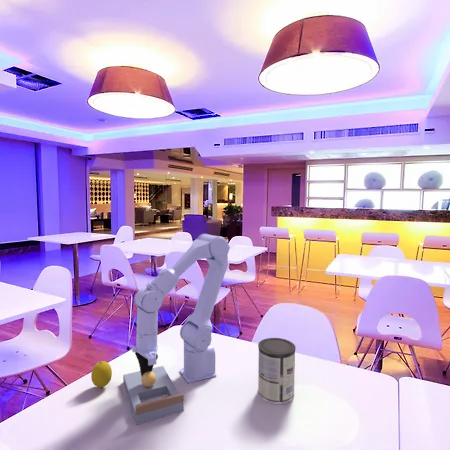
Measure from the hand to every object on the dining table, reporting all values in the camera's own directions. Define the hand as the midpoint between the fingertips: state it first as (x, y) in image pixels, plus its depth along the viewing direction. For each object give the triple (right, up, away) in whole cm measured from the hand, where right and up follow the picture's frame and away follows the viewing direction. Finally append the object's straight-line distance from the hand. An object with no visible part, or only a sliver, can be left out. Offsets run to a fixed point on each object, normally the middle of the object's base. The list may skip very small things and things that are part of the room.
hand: (145, 377), depth 91 cm
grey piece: (+2, -4, -2) cm, 5 cm away
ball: (+1, +2, 0) cm, 2 cm away
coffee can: (+37, -5, 0) cm, 37 cm away
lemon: (-13, -4, +2) cm, 14 cm away
